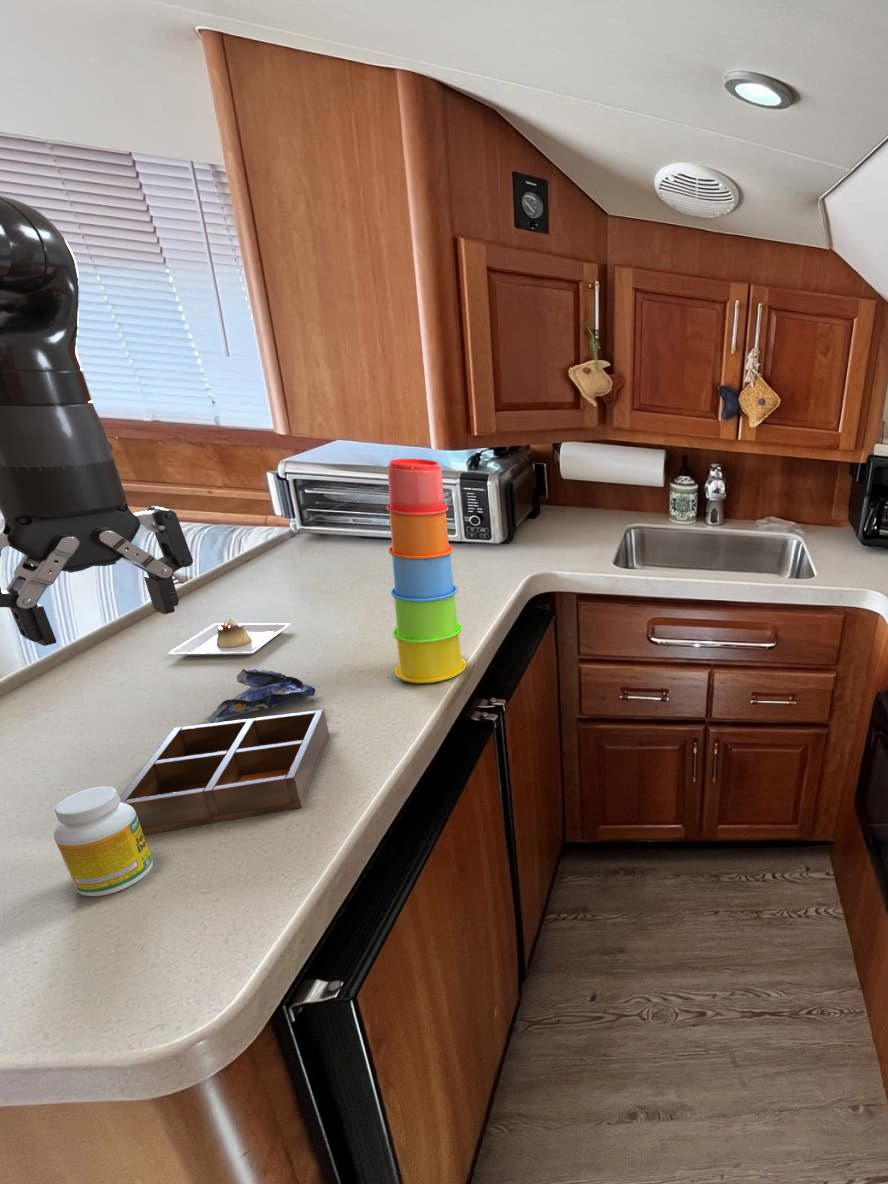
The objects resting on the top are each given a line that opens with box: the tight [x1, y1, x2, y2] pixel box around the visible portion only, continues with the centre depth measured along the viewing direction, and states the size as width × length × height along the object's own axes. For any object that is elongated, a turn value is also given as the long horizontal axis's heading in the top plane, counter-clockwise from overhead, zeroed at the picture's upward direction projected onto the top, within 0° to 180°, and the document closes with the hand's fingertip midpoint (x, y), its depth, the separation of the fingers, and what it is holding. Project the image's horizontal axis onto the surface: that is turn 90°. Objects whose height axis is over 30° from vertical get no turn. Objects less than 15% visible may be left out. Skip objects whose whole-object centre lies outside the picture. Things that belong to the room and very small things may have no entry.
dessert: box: [166, 617, 292, 657], centre depth 107 cm, size 12×12×5 cm
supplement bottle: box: [53, 786, 154, 897], centre depth 61 cm, size 5×5×10 cm
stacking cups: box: [386, 458, 467, 684], centre depth 99 cm, size 10×10×35 cm
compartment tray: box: [119, 709, 330, 836], centre depth 77 cm, size 15×15×4 cm
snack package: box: [204, 668, 316, 724], centre depth 92 cm, size 12×6×12 cm
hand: (108, 626), depth 60 cm, fingers open, 8 cm apart
